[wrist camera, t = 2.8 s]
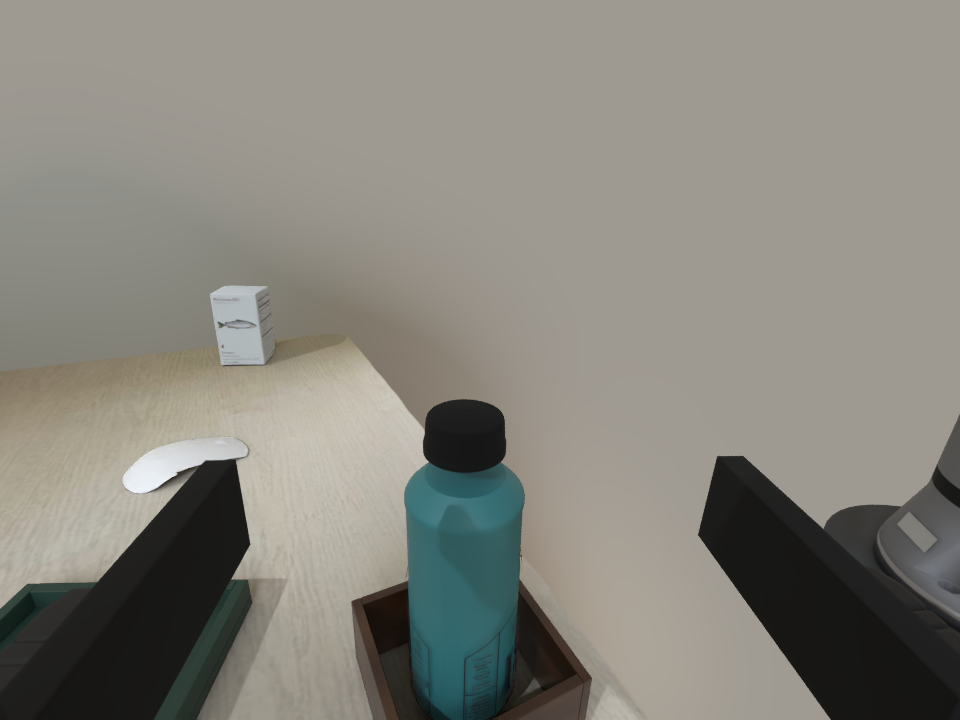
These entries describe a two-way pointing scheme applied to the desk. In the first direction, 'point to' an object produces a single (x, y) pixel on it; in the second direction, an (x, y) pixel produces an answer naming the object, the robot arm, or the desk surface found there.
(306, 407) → the desk surface
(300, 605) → the desk surface
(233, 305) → the white packaging box
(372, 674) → the crate
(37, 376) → the desk surface
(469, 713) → the beverage bottle
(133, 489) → the computer mouse
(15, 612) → the tray
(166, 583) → the robot arm
